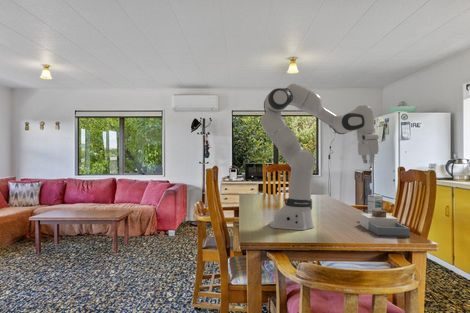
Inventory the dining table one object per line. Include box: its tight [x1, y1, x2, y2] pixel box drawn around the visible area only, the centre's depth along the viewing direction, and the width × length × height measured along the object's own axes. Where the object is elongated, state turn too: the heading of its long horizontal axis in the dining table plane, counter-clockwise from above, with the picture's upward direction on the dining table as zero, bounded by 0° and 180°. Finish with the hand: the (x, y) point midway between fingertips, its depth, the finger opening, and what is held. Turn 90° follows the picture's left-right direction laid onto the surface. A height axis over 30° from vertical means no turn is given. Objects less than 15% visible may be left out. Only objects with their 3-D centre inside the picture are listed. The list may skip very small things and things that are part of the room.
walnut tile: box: [372, 209, 387, 217], centre depth 159 cm, size 5×5×3 cm
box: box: [368, 222, 411, 238], centre depth 148 cm, size 14×12×4 cm
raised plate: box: [359, 212, 399, 231], centre depth 160 cm, size 14×12×6 cm
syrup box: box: [367, 194, 384, 214], centre depth 179 cm, size 6×6×14 cm
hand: (368, 163), depth 163 cm, fingers open, 8 cm apart
